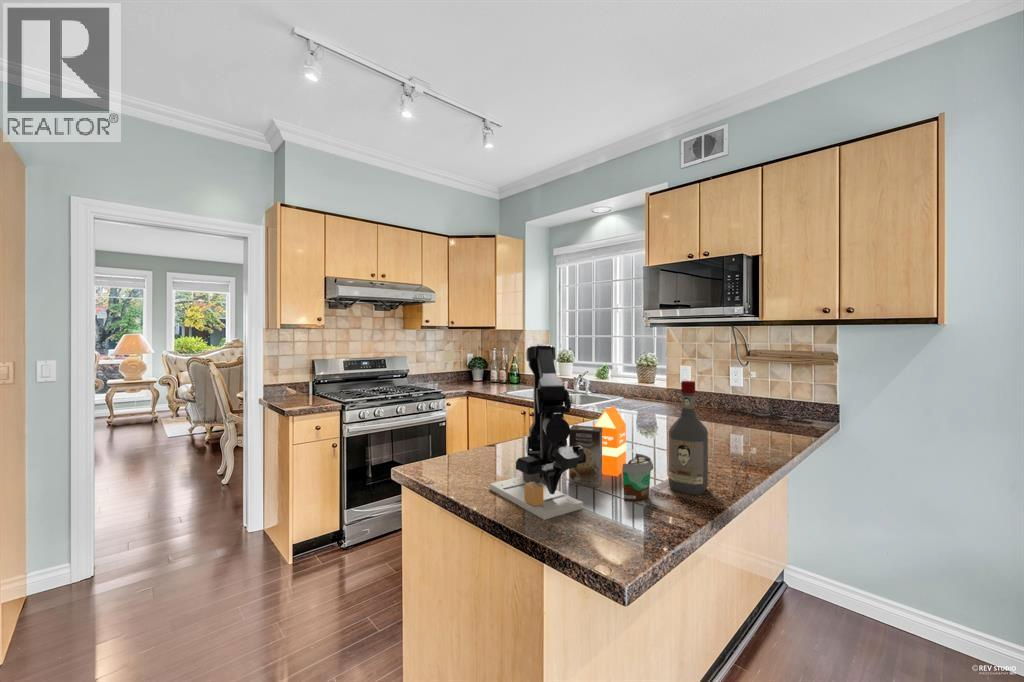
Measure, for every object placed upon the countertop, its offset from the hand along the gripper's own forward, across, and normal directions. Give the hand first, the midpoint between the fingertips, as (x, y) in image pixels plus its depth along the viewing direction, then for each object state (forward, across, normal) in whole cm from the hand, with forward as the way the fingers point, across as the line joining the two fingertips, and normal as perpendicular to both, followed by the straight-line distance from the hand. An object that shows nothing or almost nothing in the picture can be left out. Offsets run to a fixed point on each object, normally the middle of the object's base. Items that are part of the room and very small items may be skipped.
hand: (552, 493), depth 114 cm
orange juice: (+3, +32, +12) cm, 35 cm away
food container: (+3, +22, -9) cm, 25 cm away
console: (+3, -2, +6) cm, 7 cm away
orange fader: (+1, -6, -1) cm, 6 cm away
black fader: (+1, +3, +13) cm, 13 cm away
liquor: (+3, +38, -12) cm, 41 cm away
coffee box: (+3, +18, +8) cm, 20 cm away
